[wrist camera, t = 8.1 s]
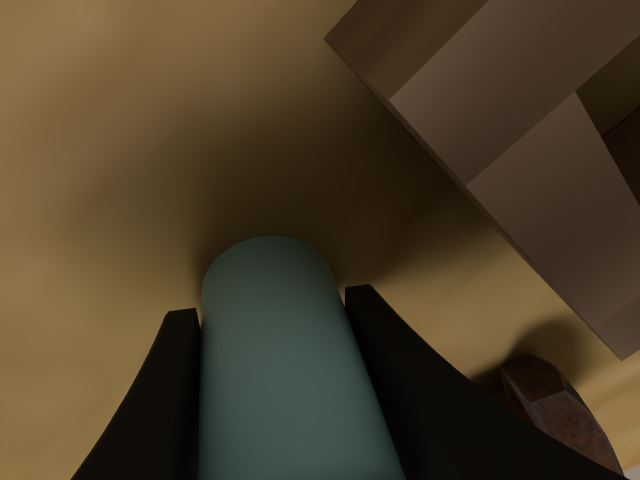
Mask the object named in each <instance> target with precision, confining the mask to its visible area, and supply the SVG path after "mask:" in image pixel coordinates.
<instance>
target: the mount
mask: <svg viewBox="0 0 640 480" xmlns="http://www.w3.org/2000/svg"><path fill="white" fill-rule="evenodd" d="M639 35H640V0H359V1H358V2H357V3H356V4H355V5H354V6H353V8H352V9H351V10H350V11H349V12H348V13H347V14H346V15H345V16H344V18H343V19H342V20H341V21H340V22H339V23H338V24H337V25H336V26H335V27H334V29H333V30H332V31H331V32H330V33H329V34H328V35H327V36H326V37H325V39H324V40H325V41H326V42H327V43H328V44H329V45H330V47H331V48H332V49H333V50H334V51H335V52H336V53H337V54H338V55H339V56H340V58H341V59H342V60H343V61H344V62H345V63H346V64H347V65H348V66H349V67H350V69H351V70H352V71H353V72H354V73H355V74H356V75H357V76H358V77H359V78H360V80H361V81H362V82H363V83H364V84H365V85H366V86H367V87H368V88H369V89H370V91H371V92H372V93H373V94H374V95H375V96H376V97H377V98H378V99H379V101H380V102H381V103H382V104H383V105H384V106H385V107H386V108H387V109H388V110H389V112H390V113H391V114H392V115H393V116H394V117H395V118H396V119H397V120H398V121H399V123H400V124H401V125H402V126H403V127H404V128H405V129H406V130H407V131H408V132H409V134H410V135H411V136H412V137H413V138H414V139H415V140H416V141H417V142H418V143H419V145H420V146H421V147H422V148H423V149H424V150H425V151H426V152H427V153H428V154H429V156H430V157H431V158H432V159H433V160H434V161H435V162H436V163H437V164H438V165H439V167H440V168H441V169H442V170H443V171H444V172H445V173H446V174H447V175H448V176H449V178H450V179H451V180H452V181H453V182H454V183H455V184H456V185H457V186H458V188H459V189H460V190H461V191H462V192H463V193H464V194H465V195H466V196H467V197H468V199H469V200H470V201H471V202H472V203H473V204H474V205H475V206H476V207H477V208H478V210H479V211H480V212H481V213H482V214H483V215H484V216H485V217H486V218H487V219H488V221H489V222H490V223H491V224H492V225H493V226H494V227H495V228H496V229H497V230H498V232H499V233H500V234H501V235H502V236H503V237H504V238H505V239H506V240H507V241H508V243H509V244H510V245H511V246H512V247H513V248H514V249H515V250H516V251H517V252H518V254H519V255H520V256H521V257H522V258H523V259H524V260H525V261H526V262H527V263H528V264H529V265H530V266H531V267H532V268H533V270H534V271H535V272H536V273H537V274H538V275H539V276H540V277H541V278H542V279H543V280H544V281H545V282H546V283H547V284H548V285H549V286H550V287H551V288H552V289H553V290H554V291H555V292H556V293H557V295H558V296H559V297H560V298H561V299H562V300H563V301H564V302H565V303H566V304H567V305H568V306H569V307H570V308H571V309H572V310H573V311H574V312H575V313H576V314H577V315H578V316H579V317H580V318H581V320H582V321H583V322H584V323H585V324H586V325H587V326H588V327H589V328H590V329H591V330H592V331H593V332H594V333H595V334H596V335H597V336H598V337H599V338H600V339H601V340H602V341H603V342H604V344H605V345H606V346H607V347H608V348H609V349H610V350H611V351H612V352H613V353H614V354H615V355H616V356H617V357H618V358H619V359H620V360H621V361H623V360H624V359H626V358H627V357H629V356H630V355H632V354H633V353H635V352H636V351H638V350H640V108H639V109H638V110H636V111H635V112H634V113H633V114H631V115H630V116H629V117H628V118H626V119H625V120H624V121H623V122H622V123H620V124H619V125H618V126H617V127H615V128H614V129H613V130H612V131H611V132H609V133H608V134H607V135H606V136H604V137H603V138H601V137H600V135H599V133H598V131H597V129H596V128H595V126H594V124H593V122H592V120H591V119H590V117H589V115H588V113H587V111H586V110H585V108H584V106H583V104H582V102H581V101H580V99H579V97H578V95H577V94H576V92H575V91H576V90H577V89H578V88H579V87H580V86H581V85H583V84H584V83H585V82H586V81H587V80H588V79H590V78H591V77H592V76H593V75H594V74H595V73H596V72H598V71H599V70H600V69H601V68H602V67H603V66H605V65H606V64H607V63H608V62H609V61H610V60H611V59H613V58H614V57H615V56H616V55H617V54H618V53H620V52H621V51H622V50H623V49H624V48H625V47H626V46H628V45H629V44H630V43H631V42H632V41H633V40H635V39H636V38H637V37H638V36H639Z"/></svg>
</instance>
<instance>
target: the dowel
mask: <svg viewBox="0 0 640 480" xmlns="http://www.w3.org/2000/svg"><path fill="white" fill-rule="evenodd" d="M200 330H201V331H200V372H199V416H198V459H197V480H406V477H405V474H404V471H403V469H402V466H401V463H400V460H399V457H398V455H397V452H396V449H395V446H394V444H393V441H392V438H391V435H390V432H389V430H388V427H387V424H386V421H385V418H384V416H383V413H382V410H381V407H380V404H379V402H378V399H377V396H376V393H375V391H374V388H373V385H372V382H371V379H370V377H369V374H368V371H367V368H366V365H365V363H364V360H363V357H362V354H361V351H360V349H359V346H358V343H357V340H356V338H355V335H354V332H353V329H352V326H351V324H350V321H349V318H348V315H347V312H346V310H345V307H344V304H343V301H342V298H341V296H340V293H339V290H338V287H337V285H336V282H335V279H334V276H333V273H332V271H331V268H330V265H329V263H328V261H327V260H326V258H325V257H324V256H323V255H322V253H321V252H320V251H319V250H317V249H316V248H315V247H313V246H312V245H310V244H309V243H307V242H304V241H302V240H300V239H296V238H293V237H288V236H280V235H267V236H259V237H254V238H250V239H247V240H244V241H242V242H239V243H237V244H235V245H233V246H231V247H230V248H228V249H227V250H225V251H224V252H222V253H221V254H220V255H219V256H218V257H217V258H216V259H215V260H214V261H213V262H212V263H211V265H210V266H209V268H208V269H207V271H206V273H205V276H204V278H203V282H202V290H201V329H200Z"/></svg>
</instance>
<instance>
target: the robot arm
mask: <svg viewBox="0 0 640 480" xmlns="http://www.w3.org/2000/svg"><path fill="white" fill-rule="evenodd" d="M345 310H346V312H347V315H348V318H349V321H350V324H351V326H352V329H353V332H354V335H355V338H356V340H357V343H358V346H359V349H360V351H361V354H362V357H363V360H364V363H365V365H366V368H367V371H368V374H369V377H370V379H371V382H372V385H373V388H374V391H375V393H376V396H377V399H378V402H379V404H380V407H381V410H382V413H383V416H384V418H385V421H386V424H387V427H388V430H389V432H390V435H391V438H392V441H393V444H394V446H395V449H396V452H397V455H398V457H399V460H400V463H401V466H402V469H403V471H404V474H405V477H406V480H629V479H627V478H625V477H624V476H622V475H620V474H618V473H616V472H614V471H612V470H610V469H608V468H606V467H604V466H602V465H600V464H598V463H596V462H595V461H593V460H591V459H589V458H587V457H586V456H584V455H582V454H580V453H579V452H577V451H575V450H573V449H572V448H570V447H568V446H566V445H564V444H563V443H561V442H559V441H558V440H556V439H554V438H553V437H551V436H550V435H548V434H547V433H545V432H543V431H542V430H540V429H539V428H537V427H536V426H534V425H532V424H531V423H529V422H528V421H526V420H525V419H523V418H521V417H520V416H518V415H517V414H515V413H514V412H512V411H511V410H509V409H508V408H506V407H505V406H504V405H502V404H501V403H499V402H498V401H497V400H495V399H494V398H492V397H491V396H490V395H488V394H487V393H486V392H484V391H483V390H482V389H480V388H479V387H478V386H476V385H475V384H474V383H473V382H471V381H470V380H469V379H468V378H466V377H465V376H464V375H463V374H461V373H460V372H459V371H458V370H457V369H455V368H454V367H453V366H452V365H451V364H450V363H449V362H447V361H446V360H445V359H444V358H443V357H442V356H440V355H439V354H438V353H437V352H436V351H435V350H434V349H433V348H432V347H431V346H430V345H428V344H427V343H426V342H425V341H424V340H423V339H422V338H421V337H420V336H419V335H418V334H417V333H416V332H415V331H414V330H413V329H412V328H411V327H410V326H409V325H408V324H407V323H406V322H405V321H404V320H403V319H402V318H401V317H400V316H399V315H398V314H397V313H396V312H395V311H394V310H393V309H392V308H391V307H390V305H389V304H388V303H387V302H386V301H385V300H384V299H383V298H382V297H381V296H380V295H379V293H378V292H377V291H376V290H375V289H374V288H373V287H372V286H371V285H369V284H366V285H359V286H351V287H345ZM200 331H201V330H200V325H199V320H198V316H197V311H196V308H190V309H183V310H175V311H169V312H168V313H167V314H166V315H165V317H164V320H163V322H162V325H161V327H160V329H159V332H158V334H157V336H156V339H155V341H154V343H153V345H152V347H151V349H150V351H149V353H148V355H147V357H146V359H145V361H144V363H143V365H142V367H141V369H140V371H139V372H138V374H137V376H136V378H135V380H134V382H133V384H132V386H131V387H130V389H129V391H128V393H127V394H126V396H125V398H124V399H123V401H122V403H121V404H120V406H119V408H118V409H117V411H116V413H115V414H114V416H113V418H112V419H111V421H110V423H109V424H108V426H107V427H106V429H105V431H104V432H103V434H102V435H101V437H100V438H99V440H98V441H97V443H96V444H95V446H94V447H93V449H92V450H91V452H90V453H89V454H88V456H87V457H86V459H85V460H84V462H83V463H82V464H81V466H80V467H79V469H78V470H77V471H76V473H75V474H74V475H73V477H72V478H71V480H197V459H198V416H199V372H200Z"/></svg>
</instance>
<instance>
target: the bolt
mask: <svg viewBox="0 0 640 480" xmlns="http://www.w3.org/2000/svg"><path fill="white" fill-rule="evenodd" d="M499 369H500V373H501V378H502V382H503V387H504V391H505V395H506V400H504V401H502V402H499V403H501V404H502V405H504V406H505V407H506V408H508V409H509V410H511V411H512V412H514V413H515V414H517V415H518V416H520V417H521V418H523V419H525V420H526V421H528V422H529V423H531V424H532V425H534V426H536V427H537V428H539V429H540V430H542V431H543V432H545V433H547V434H548V435H550V436H551V437H553V438H554V439H556V440H558V441H559V442H561V443H563V444H564V445H566V446H568V447H570V448H572V449H573V450H575V451H577V452H579V453H580V454H582V455H584V456H586V457H587V458H589V459H591V460H593V461H595V462H596V463H598V464H600V465H602V466H604V467H606V468H608V469H610V470H612V471H614V472H616V473H618V474H620V475H622V476H624V474H623V471H622V469H621V466H620V464H619V462H618V459H617V457H616V455H615V452H614V450H613V448H612V446H611V444H610V442H609V440H608V438H607V436H606V434H605V433H604V431H603V430H602V428H601V427H600V425H599V424H598V422H597V421H596V419H595V418H594V416H593V415H592V413H591V412H590V410H589V409H588V407H587V406H586V404H585V403H584V402H583V400H582V399H581V397H580V396H579V394H578V393H577V392H576V390H575V389H574V388H573V387H572V386H571V384H570V383H569V382H568V381H567V380H566V378H565V377H564V376H563V375H562V373H561V372H560V371H559V370H558V369H557V367H556V366H554V365H553V364H551V363H550V362H548V361H546V360H544V359H541V358H539V357H535V356H532V355H528V356H525V357H523V358H520V359H518V360H515V361H513V362H510V363H508V364H505V365H503V366H501V367H499ZM624 477H625V476H624Z"/></svg>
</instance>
